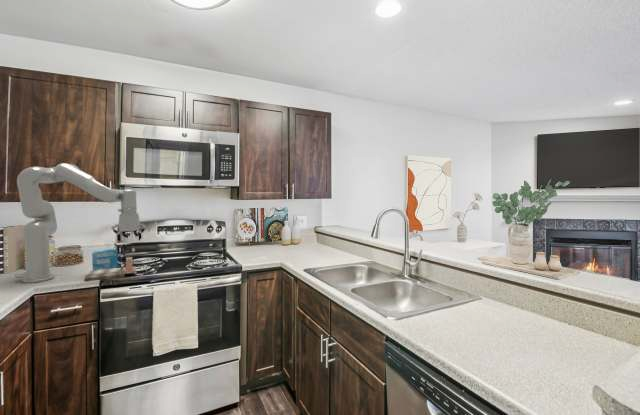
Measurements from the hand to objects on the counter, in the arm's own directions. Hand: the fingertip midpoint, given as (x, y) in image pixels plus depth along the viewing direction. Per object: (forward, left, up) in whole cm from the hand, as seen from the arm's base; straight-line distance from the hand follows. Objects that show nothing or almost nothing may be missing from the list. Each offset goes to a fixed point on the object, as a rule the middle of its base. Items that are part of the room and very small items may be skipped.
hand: (129, 240), depth 178 cm
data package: (-13, +19, -20) cm, 30 cm away
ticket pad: (-12, 0, -20) cm, 23 cm away
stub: (0, 0, -18) cm, 18 cm away
